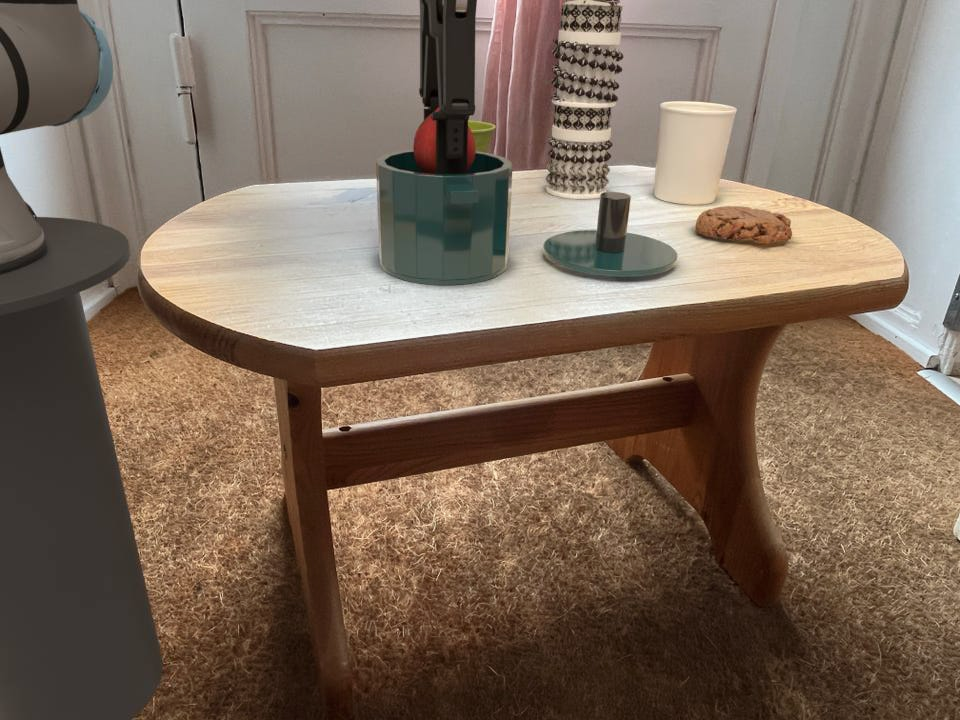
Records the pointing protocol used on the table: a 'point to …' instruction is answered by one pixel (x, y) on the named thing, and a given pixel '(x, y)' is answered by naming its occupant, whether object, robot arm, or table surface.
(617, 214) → the pot lid
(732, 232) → the cookie
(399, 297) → the table surface
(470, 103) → the robot arm
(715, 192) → the white cup
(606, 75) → the decorative candle
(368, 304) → the table surface
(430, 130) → the onion
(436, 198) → the pot
